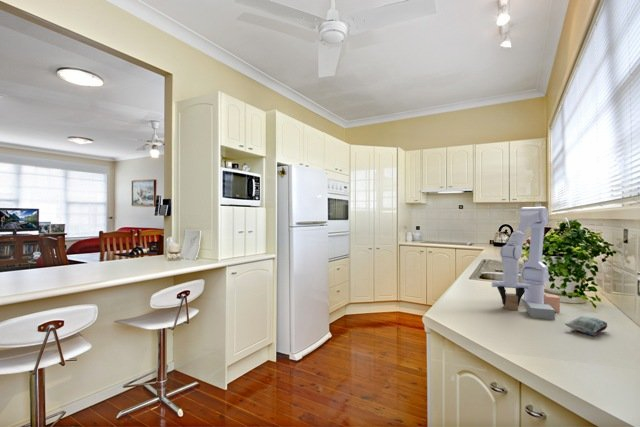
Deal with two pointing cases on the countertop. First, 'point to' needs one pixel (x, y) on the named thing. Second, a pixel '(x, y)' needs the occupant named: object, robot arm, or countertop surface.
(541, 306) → the slate base block
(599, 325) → the packaged food
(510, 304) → the walnut block
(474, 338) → the countertop surface
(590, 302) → the countertop surface
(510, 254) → the robot arm
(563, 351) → the countertop surface
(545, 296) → the terracotta block
